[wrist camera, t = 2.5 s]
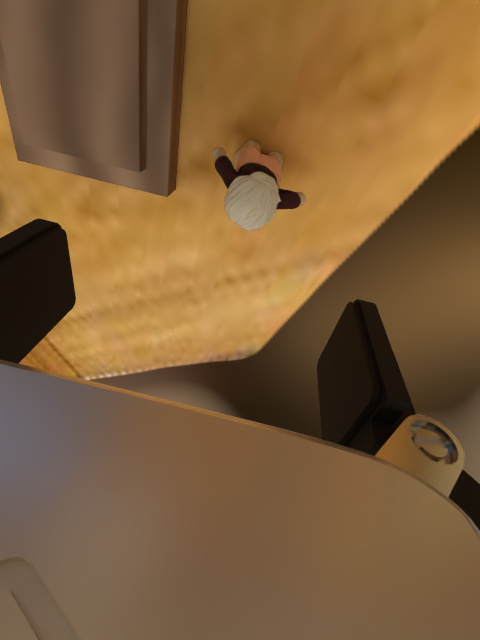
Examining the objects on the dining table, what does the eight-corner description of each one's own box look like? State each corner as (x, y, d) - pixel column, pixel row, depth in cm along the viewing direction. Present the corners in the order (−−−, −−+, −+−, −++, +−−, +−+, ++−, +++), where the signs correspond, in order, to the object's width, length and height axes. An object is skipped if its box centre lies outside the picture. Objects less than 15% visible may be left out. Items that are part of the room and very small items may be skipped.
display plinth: (191, -56, 21) (172, -79, 18) (175, 189, 31) (161, 202, 28) (-15, -108, 21) (-70, -141, 18) (35, 154, 31) (6, 163, 28)
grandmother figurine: (219, 175, 30) (180, 224, 20) (227, 129, 27) (188, 159, 17) (298, 198, 30) (299, 258, 20) (313, 154, 27) (322, 198, 17)
